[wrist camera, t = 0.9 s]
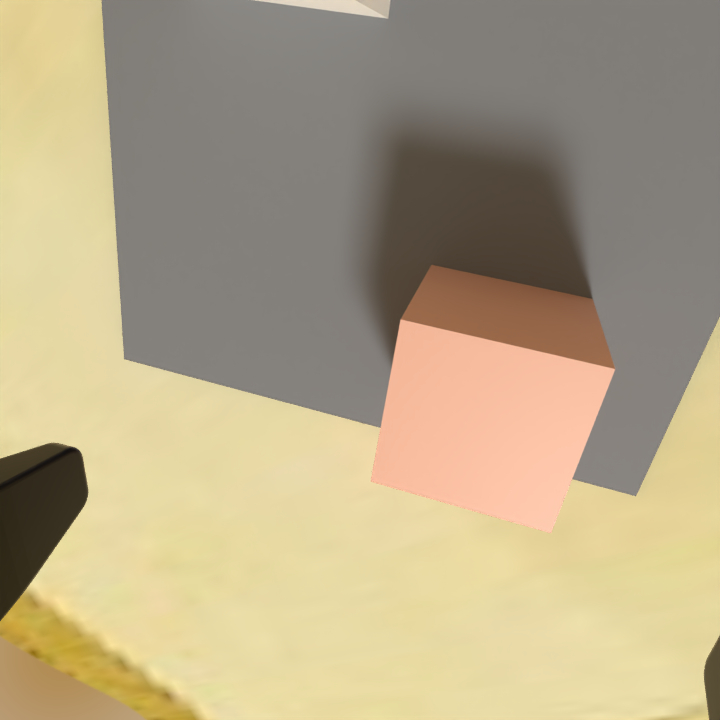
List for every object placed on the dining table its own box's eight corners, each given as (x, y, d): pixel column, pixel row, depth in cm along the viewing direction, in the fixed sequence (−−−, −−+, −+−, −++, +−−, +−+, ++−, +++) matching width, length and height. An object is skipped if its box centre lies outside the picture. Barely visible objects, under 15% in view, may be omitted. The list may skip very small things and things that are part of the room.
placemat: (1181, -699, 9) (1209, -732, 8) (634, 489, 20) (636, 496, 19) (74, -616, 12) (61, -637, 12) (130, 355, 23) (124, 359, 23)
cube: (592, 298, 17) (614, 368, 13) (545, 434, 19) (550, 532, 15) (431, 264, 18) (400, 319, 14) (404, 398, 20) (370, 481, 16)
